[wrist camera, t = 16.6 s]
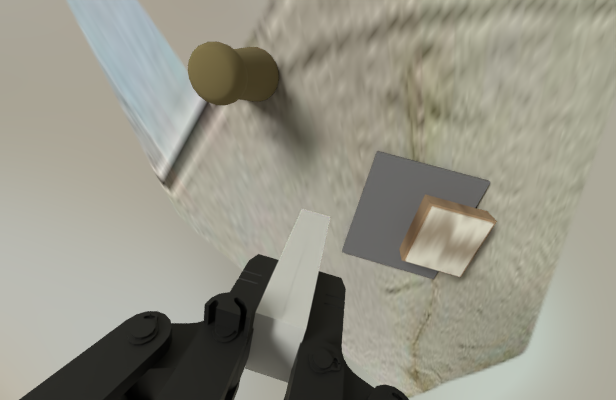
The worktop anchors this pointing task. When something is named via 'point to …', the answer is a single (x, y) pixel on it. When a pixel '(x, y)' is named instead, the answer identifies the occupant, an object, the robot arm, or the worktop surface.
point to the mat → (402, 206)
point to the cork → (232, 73)
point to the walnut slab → (445, 235)
